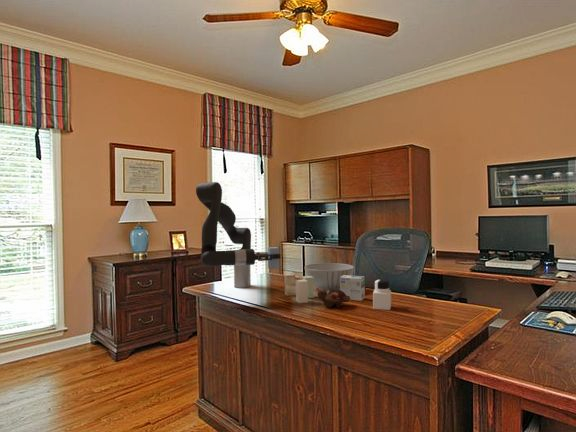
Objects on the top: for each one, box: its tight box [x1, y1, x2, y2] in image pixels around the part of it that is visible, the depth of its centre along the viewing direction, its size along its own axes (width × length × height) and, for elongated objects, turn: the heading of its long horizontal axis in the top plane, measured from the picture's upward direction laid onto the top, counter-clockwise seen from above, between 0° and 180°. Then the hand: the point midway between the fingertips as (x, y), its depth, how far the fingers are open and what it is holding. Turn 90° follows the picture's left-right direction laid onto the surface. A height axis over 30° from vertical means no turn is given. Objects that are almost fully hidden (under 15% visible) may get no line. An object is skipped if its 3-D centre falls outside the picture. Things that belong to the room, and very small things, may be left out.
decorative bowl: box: [304, 262, 355, 291], centre depth 201 cm, size 27×27×12 cm
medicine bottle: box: [372, 279, 392, 311], centre depth 162 cm, size 7×7×12 cm
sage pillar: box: [302, 275, 315, 299], centre depth 183 cm, size 4×4×10 cm
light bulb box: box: [340, 275, 366, 302], centre depth 179 cm, size 11×7×11 cm, turn 65°
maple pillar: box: [284, 273, 296, 297], centre depth 189 cm, size 4×4×10 cm
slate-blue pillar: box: [267, 246, 280, 270], centre depth 180 cm, size 4×4×10 cm
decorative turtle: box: [316, 289, 351, 309], centre depth 165 cm, size 10×15×8 cm, turn 108°
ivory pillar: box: [295, 279, 309, 304], centre depth 174 cm, size 4×4×10 cm
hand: (278, 255), depth 181 cm, fingers closed on slate-blue pillar, 4 cm apart
